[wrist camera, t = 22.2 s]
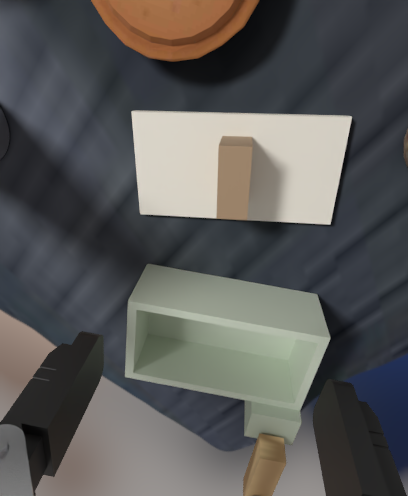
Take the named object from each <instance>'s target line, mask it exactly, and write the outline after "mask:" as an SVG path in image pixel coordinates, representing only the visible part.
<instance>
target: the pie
mask: <svg viewBox="0 0 408 496" xmlns="http://www.w3.org/2000/svg"><path fill="white" fill-rule="evenodd" d="M91 1H92V3H93V4H94V6H95V7H96V9H97V11H98V12H99V14H100V15H101V17H102V19H103V20H104V22H105V24H106V25H107V26H108V27H109V28H110V29H111V30H112V31H113V32H114V33H115V34H116V36H117V37H118V38H119V39H120V40H121V41H122V42H123V43H124V44H125V45H126V46H128V47H130V48H132V49H133V50H135V51H137V52H139V53H141V54H142V55H144V56H146V57H148V58H151V59H158V60H165V61H171V62H175V61H182V60H190V59H197V58H200V57H202V56H204V55H206V54H207V53H209V52H211V51H213V50H215V49H217V48H218V47H220V46H222V45H223V44H224V43H226V42H227V41H228V40H229V39H230V38H232V37H233V36H234V35H235V34H236V33H237V32H239V31H240V30H241V29H242V28H243V27H244V26H245V25H246V23H247V21H248V19H249V18H250V16H251V14H252V13H253V11H254V9H255V7H256V6H257V4H258V2H259V1H260V0H91Z"/></svg>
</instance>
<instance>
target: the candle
mask: <svg viewBox="0 0 408 496" xmlns="http://www.w3.org/2000/svg"><path fill="white" fill-rule="evenodd" d="M404 159H405V162H406V165H407V167H408V129H407V133H406V135H405V138H404Z"/></svg>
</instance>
